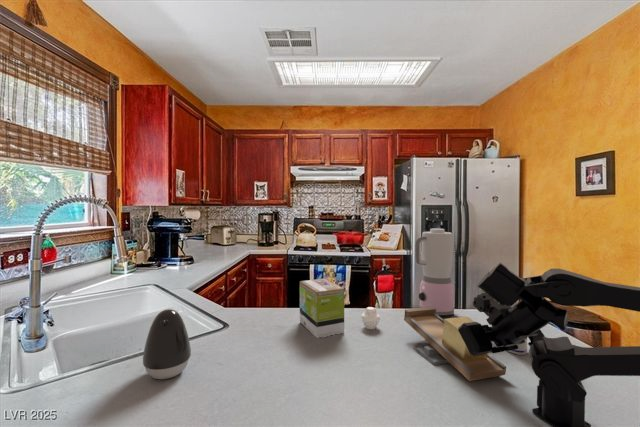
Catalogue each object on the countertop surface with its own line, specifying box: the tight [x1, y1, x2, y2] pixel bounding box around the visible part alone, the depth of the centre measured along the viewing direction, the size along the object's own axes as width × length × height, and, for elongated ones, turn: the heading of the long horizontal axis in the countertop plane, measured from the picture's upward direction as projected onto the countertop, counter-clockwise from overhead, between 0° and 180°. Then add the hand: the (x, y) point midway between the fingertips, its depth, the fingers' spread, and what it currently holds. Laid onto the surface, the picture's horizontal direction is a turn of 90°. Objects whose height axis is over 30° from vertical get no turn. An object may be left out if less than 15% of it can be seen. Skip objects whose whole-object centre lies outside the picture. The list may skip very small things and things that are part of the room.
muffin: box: [360, 306, 381, 330], centre depth 103 cm, size 6×6×7 cm
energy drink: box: [507, 304, 528, 356], centre depth 87 cm, size 5×5×12 cm
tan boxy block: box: [442, 316, 488, 363], centre depth 78 cm, size 8×7×7 cm
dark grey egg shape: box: [142, 308, 192, 380], centre depth 74 cm, size 10×10×15 cm
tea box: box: [299, 278, 345, 339], centre depth 103 cm, size 15×10×15 cm, turn 25°
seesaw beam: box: [403, 307, 507, 382], centre depth 84 cm, size 28×10×4 cm, turn 16°
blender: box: [414, 228, 455, 316], centre depth 118 cm, size 16×12×32 cm
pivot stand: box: [415, 345, 451, 366], centre depth 84 cm, size 8×14×2 cm, turn 106°
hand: (480, 349), depth 73 cm, fingers closed
